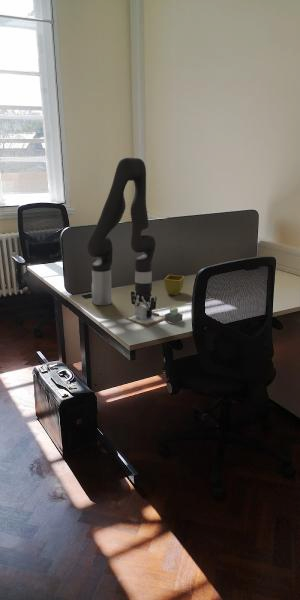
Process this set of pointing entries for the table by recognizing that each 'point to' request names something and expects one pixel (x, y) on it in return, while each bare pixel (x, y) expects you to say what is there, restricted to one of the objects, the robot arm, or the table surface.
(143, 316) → the small box
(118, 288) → the table surface
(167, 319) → the button housing
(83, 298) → the table surface
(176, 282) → the flower pot
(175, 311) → the button
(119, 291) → the table surface
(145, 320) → the picture frame
